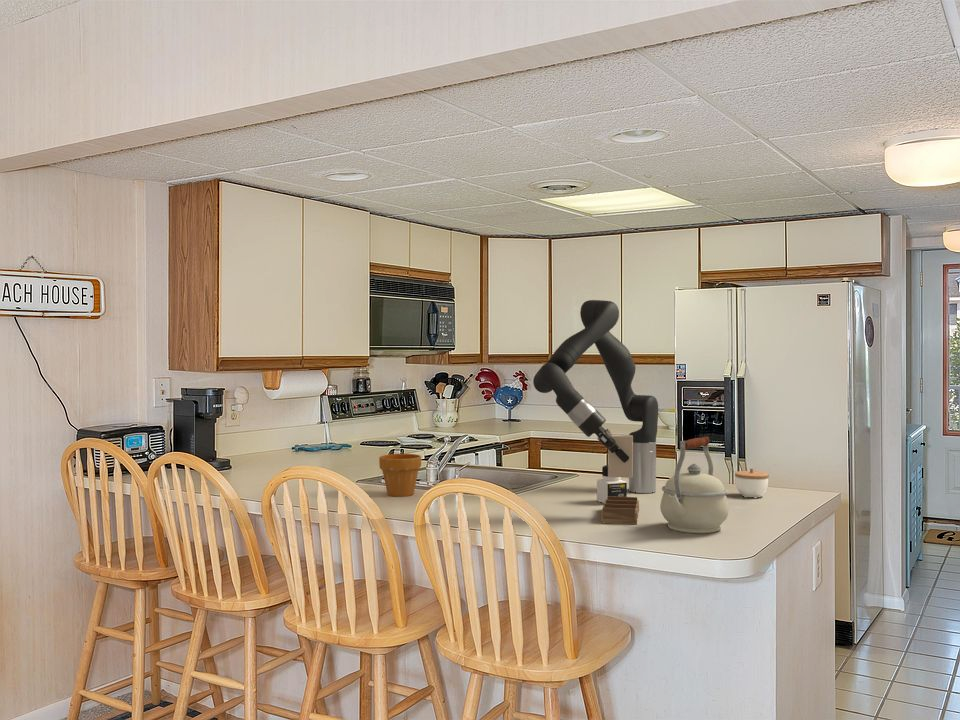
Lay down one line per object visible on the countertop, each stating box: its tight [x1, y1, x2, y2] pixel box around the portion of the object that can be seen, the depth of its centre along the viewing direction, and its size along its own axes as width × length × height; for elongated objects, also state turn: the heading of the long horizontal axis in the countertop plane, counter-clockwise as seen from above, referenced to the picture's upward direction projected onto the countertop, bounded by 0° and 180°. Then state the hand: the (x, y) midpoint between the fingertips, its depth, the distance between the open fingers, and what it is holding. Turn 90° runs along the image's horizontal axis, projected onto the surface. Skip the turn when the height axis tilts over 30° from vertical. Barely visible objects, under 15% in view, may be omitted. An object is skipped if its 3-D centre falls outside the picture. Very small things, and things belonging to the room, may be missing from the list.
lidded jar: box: [734, 467, 769, 498], centre depth 286 cm, size 11×11×9 cm
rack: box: [600, 496, 640, 525], centre depth 253 cm, size 20×10×4 cm, turn 168°
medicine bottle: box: [596, 464, 628, 504], centre depth 275 cm, size 7×7×12 cm
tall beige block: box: [607, 434, 633, 479], centre depth 252 cm, size 4×7×12 cm, turn 78°
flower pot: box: [378, 453, 422, 498], centre depth 290 cm, size 14×14×13 cm
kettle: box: [659, 436, 730, 534], centre depth 235 cm, size 25×18×25 cm
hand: (627, 459), depth 252 cm, fingers closed on tall beige block, 4 cm apart
